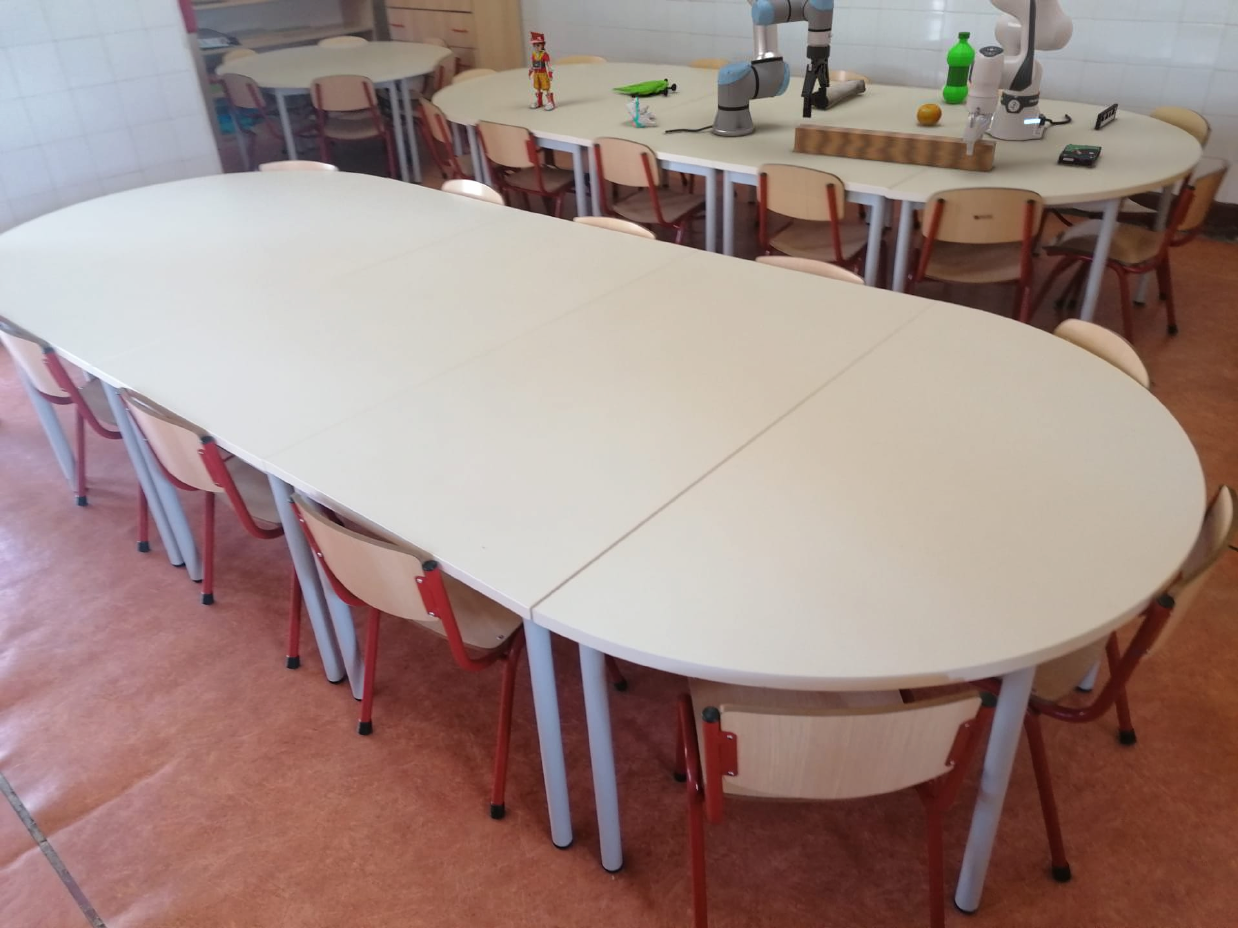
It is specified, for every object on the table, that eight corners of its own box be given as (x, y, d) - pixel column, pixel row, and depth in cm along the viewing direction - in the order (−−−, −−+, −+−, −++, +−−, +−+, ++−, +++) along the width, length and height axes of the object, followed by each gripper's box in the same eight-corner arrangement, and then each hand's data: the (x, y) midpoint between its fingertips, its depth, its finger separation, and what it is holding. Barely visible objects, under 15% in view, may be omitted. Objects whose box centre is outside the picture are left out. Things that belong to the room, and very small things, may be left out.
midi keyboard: (1098, 129, 313) (1101, 114, 311) (1094, 129, 314) (1098, 114, 311) (1114, 118, 324) (1118, 104, 321) (1111, 118, 325) (1114, 103, 322)
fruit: (911, 116, 327) (926, 96, 324) (913, 119, 335) (927, 100, 332) (931, 129, 325) (945, 109, 322) (931, 132, 333) (946, 112, 330)
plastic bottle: (973, 101, 354) (984, 32, 339) (955, 106, 349) (966, 36, 335) (952, 97, 361) (962, 29, 346) (934, 102, 356) (944, 33, 342)
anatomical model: (623, 97, 354) (648, 90, 354) (629, 123, 360) (653, 116, 359) (626, 106, 342) (652, 99, 341) (633, 133, 348) (658, 126, 347)
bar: (793, 151, 311) (795, 127, 307) (799, 147, 315) (801, 123, 311) (988, 171, 283) (993, 145, 278) (992, 166, 287) (996, 141, 282)
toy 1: (525, 109, 381) (517, 32, 364) (534, 104, 388) (527, 28, 371) (550, 110, 377) (543, 32, 360) (559, 105, 384) (553, 28, 367)
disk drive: (1092, 168, 280) (1100, 154, 290) (1094, 159, 278) (1102, 146, 288) (1057, 164, 285) (1065, 151, 295) (1059, 155, 283) (1067, 142, 293)
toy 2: (686, 85, 398) (631, 84, 414) (685, 72, 395) (629, 72, 411) (651, 104, 381) (596, 103, 397) (650, 92, 378) (594, 91, 394)
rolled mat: (841, 83, 376) (857, 68, 368) (853, 102, 377) (870, 86, 369) (802, 102, 359) (819, 86, 351) (815, 121, 359) (832, 105, 351)
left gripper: (816, 52, 281) (811, 122, 293) (842, 38, 299) (837, 105, 311) (793, 51, 285) (789, 120, 297) (821, 37, 302) (816, 103, 314)
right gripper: (984, 113, 267) (975, 160, 275) (999, 99, 282) (990, 144, 290) (962, 111, 270) (954, 158, 278) (978, 97, 285) (970, 142, 292)
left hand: (814, 112), depth 304 cm, fingers open, 13 cm apart
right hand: (973, 151), depth 284 cm, fingers open, 8 cm apart
